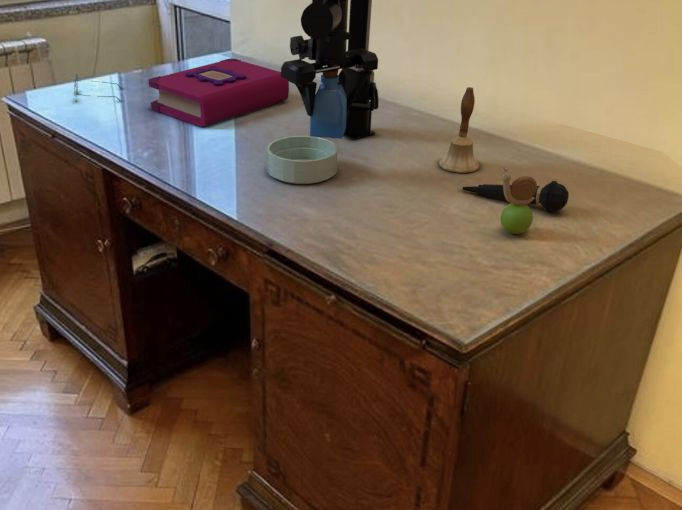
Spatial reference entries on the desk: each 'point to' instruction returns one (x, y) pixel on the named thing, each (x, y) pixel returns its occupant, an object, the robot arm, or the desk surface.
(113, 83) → the eyeglasses
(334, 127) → the perfume bottle
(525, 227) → the snail figurine
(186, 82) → the book
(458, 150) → the hand bell
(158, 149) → the desk surface
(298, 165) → the bowl
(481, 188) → the microphone
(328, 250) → the desk surface
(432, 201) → the desk surface
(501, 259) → the desk surface
